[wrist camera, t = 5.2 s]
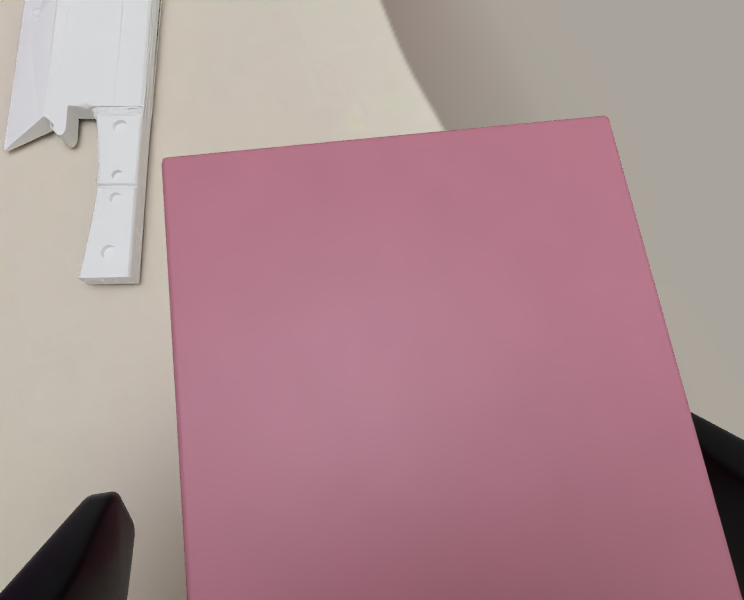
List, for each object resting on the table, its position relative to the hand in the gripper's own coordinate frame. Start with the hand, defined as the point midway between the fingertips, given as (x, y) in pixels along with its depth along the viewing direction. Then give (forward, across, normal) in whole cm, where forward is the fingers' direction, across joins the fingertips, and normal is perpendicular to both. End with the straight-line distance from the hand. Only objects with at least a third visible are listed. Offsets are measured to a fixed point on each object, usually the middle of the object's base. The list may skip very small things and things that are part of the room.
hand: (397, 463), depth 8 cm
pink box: (+7, 0, +5) cm, 9 cm away
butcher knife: (+16, +9, -4) cm, 19 cm away
